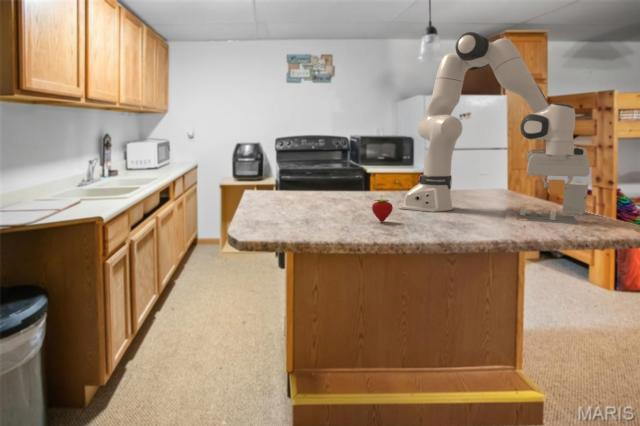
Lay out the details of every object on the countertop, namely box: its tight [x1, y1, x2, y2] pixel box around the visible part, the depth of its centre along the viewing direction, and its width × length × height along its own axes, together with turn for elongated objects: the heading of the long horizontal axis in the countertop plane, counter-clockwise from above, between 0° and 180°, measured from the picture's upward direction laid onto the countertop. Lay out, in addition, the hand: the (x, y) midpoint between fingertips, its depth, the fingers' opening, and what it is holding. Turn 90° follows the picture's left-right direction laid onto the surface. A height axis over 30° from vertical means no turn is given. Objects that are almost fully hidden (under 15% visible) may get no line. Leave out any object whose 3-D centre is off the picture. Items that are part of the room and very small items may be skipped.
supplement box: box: [561, 182, 589, 216], centre depth 193 cm, size 7×7×13 cm
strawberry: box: [371, 195, 393, 223], centre depth 178 cm, size 6×8×10 cm
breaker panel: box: [516, 210, 579, 225], centre depth 182 cm, size 20×16×2 cm
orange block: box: [547, 178, 566, 195], centre depth 176 cm, size 5×5×4 cm
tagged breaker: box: [549, 209, 557, 220], centre depth 178 cm, size 2×2×4 cm
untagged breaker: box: [519, 205, 526, 216], centre depth 187 cm, size 2×2×4 cm
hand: (555, 188), depth 177 cm, fingers closed on orange block, 5 cm apart
